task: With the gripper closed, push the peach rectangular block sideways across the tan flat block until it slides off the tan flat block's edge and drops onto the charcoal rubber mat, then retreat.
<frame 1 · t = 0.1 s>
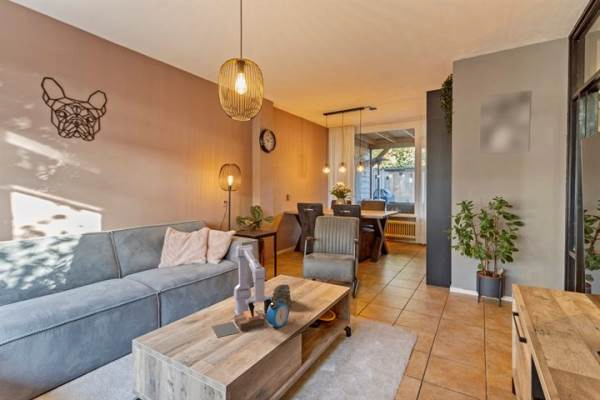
hand: (259, 314, 160), 10 cm above the table, fingers open, 7 cm apart
tan flat block: (249, 323, 170), on the table
peach rectangular block: (251, 316, 171), point 4 cm above the table, touching tan flat block
rock: (280, 304, 198), on the table
alarm clock: (278, 325, 169), on the table
mat: (225, 329, 163), on the table
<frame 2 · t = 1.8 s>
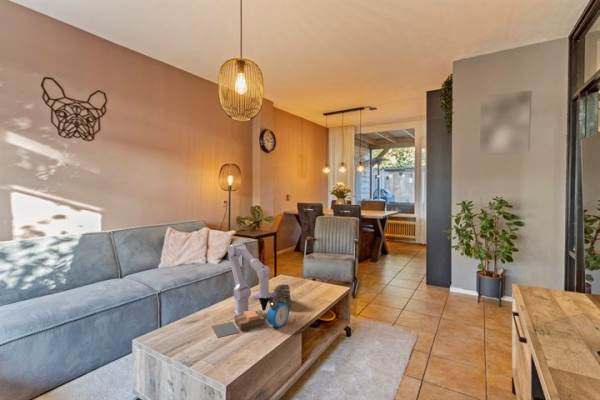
hand: (263, 309, 174), 7 cm above the table, fingers closed
nothing on the table moved.
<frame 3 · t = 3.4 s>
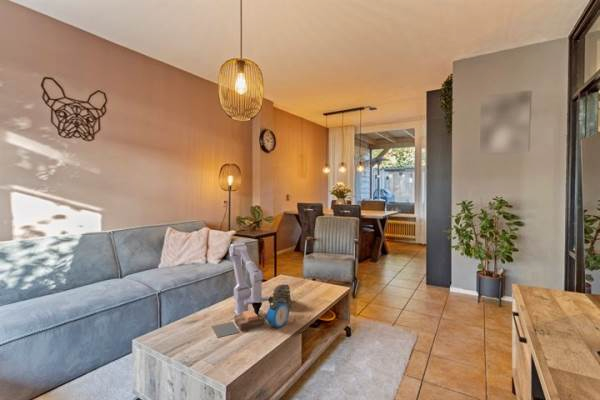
hand: (256, 314, 172), 5 cm above the table, fingers closed
nothing on the table moved.
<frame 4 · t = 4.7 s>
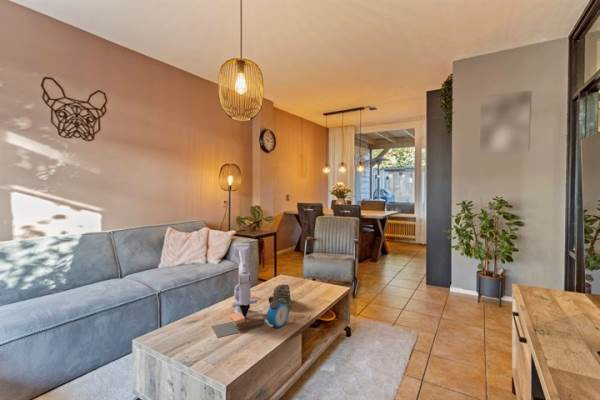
hand: (244, 317, 169), 5 cm above the table, fingers closed
peach rectangular block: (237, 319, 167), point 4 cm above the table, tilted 6°, touching tan flat block
everything else where it was.
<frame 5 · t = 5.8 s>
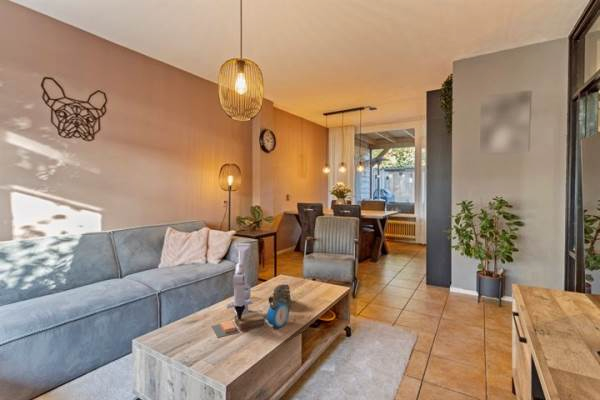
hand: (239, 318, 167), 5 cm above the table, fingers closed
peach rectangular block: (227, 324, 164), point 2 cm above the table, tilted 180°, touching mat
everything else where it was.
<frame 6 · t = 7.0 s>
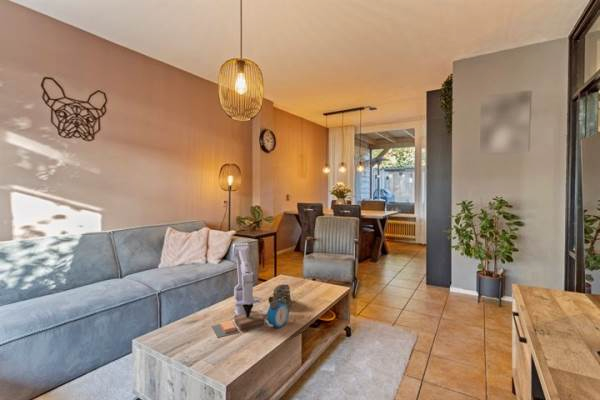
hand: (247, 316, 170), 5 cm above the table, fingers closed
nothing on the table moved.
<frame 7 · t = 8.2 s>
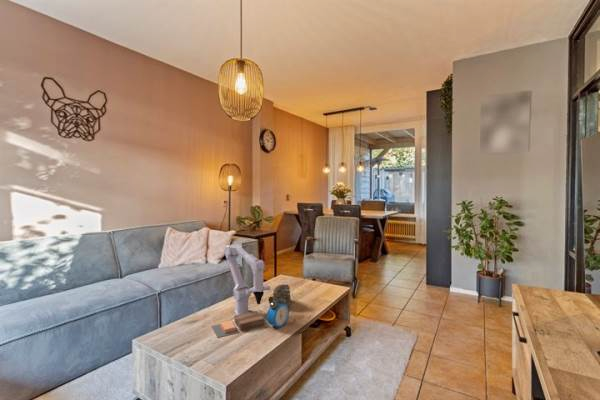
hand: (258, 303, 174), 10 cm above the table, fingers closed
nothing on the table moved.
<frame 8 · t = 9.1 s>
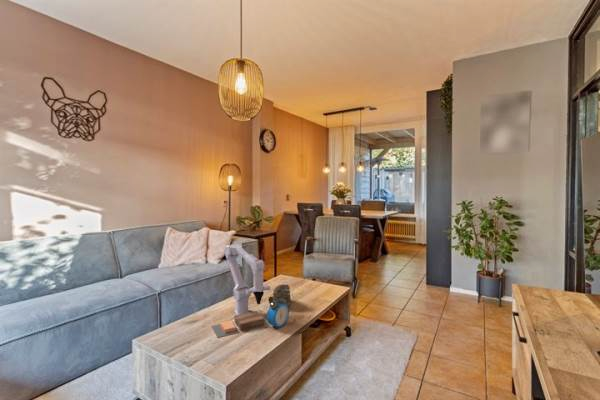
hand: (258, 303, 174), 10 cm above the table, fingers closed
nothing on the table moved.
at the end: peach rectangular block point 2.3 cm above the table; peach rectangular block inside the target area on the mat (1.4 cm from its centre), point 2.3 cm above the mat's base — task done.
